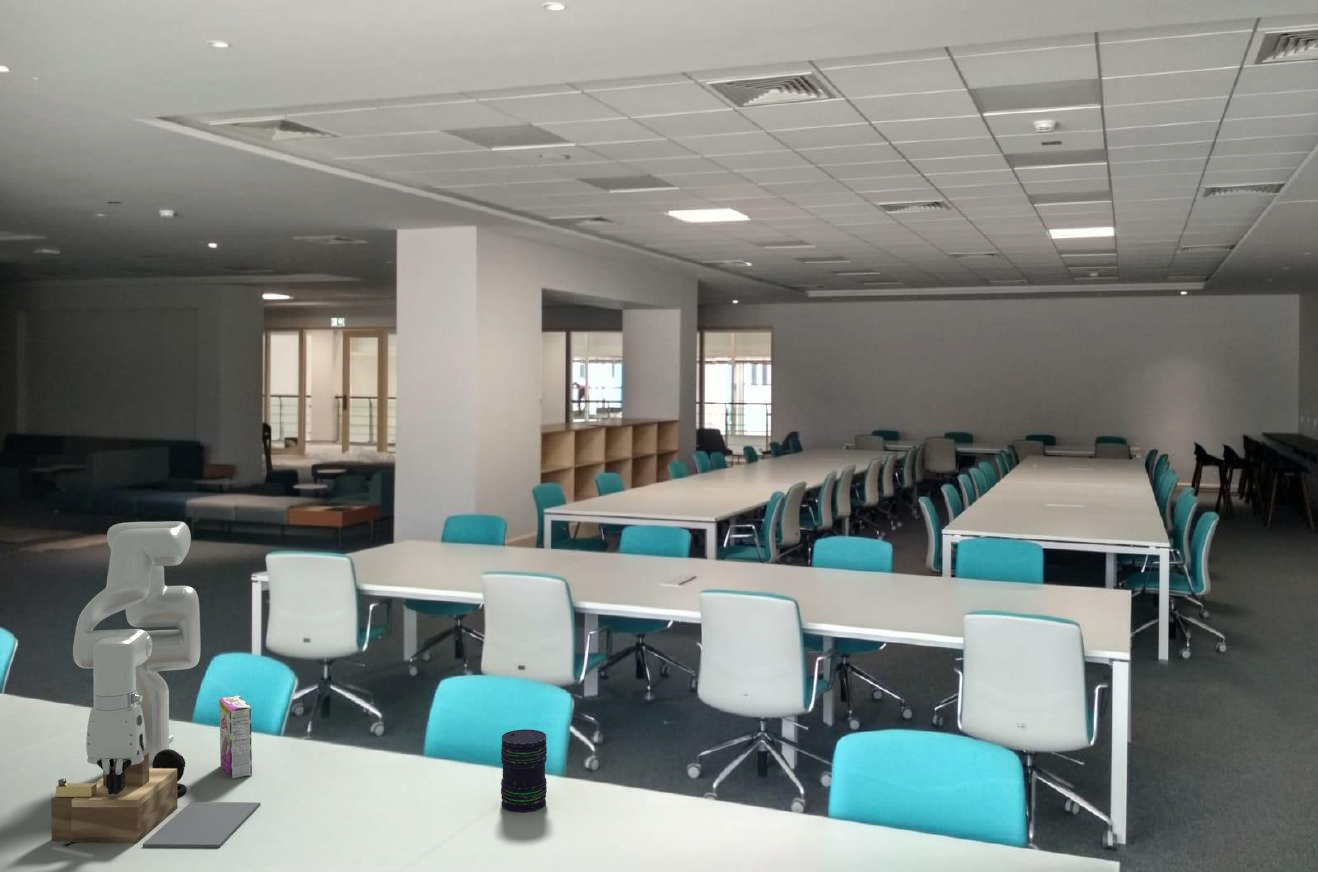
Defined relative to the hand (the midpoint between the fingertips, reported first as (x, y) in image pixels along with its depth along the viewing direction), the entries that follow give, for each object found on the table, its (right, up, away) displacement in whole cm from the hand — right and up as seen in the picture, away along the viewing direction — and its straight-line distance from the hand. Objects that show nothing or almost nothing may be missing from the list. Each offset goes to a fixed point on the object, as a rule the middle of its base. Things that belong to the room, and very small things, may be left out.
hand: (116, 792), depth 218 cm
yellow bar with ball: (-8, -1, 0) cm, 8 cm away
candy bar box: (+9, -8, +39) cm, 41 cm away
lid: (-1, -2, +7) cm, 8 cm away
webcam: (0, -9, +24) cm, 26 cm away
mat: (+15, -9, +7) cm, 19 cm away
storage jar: (+79, -10, +20) cm, 82 cm away
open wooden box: (-4, -9, +7) cm, 12 cm away
